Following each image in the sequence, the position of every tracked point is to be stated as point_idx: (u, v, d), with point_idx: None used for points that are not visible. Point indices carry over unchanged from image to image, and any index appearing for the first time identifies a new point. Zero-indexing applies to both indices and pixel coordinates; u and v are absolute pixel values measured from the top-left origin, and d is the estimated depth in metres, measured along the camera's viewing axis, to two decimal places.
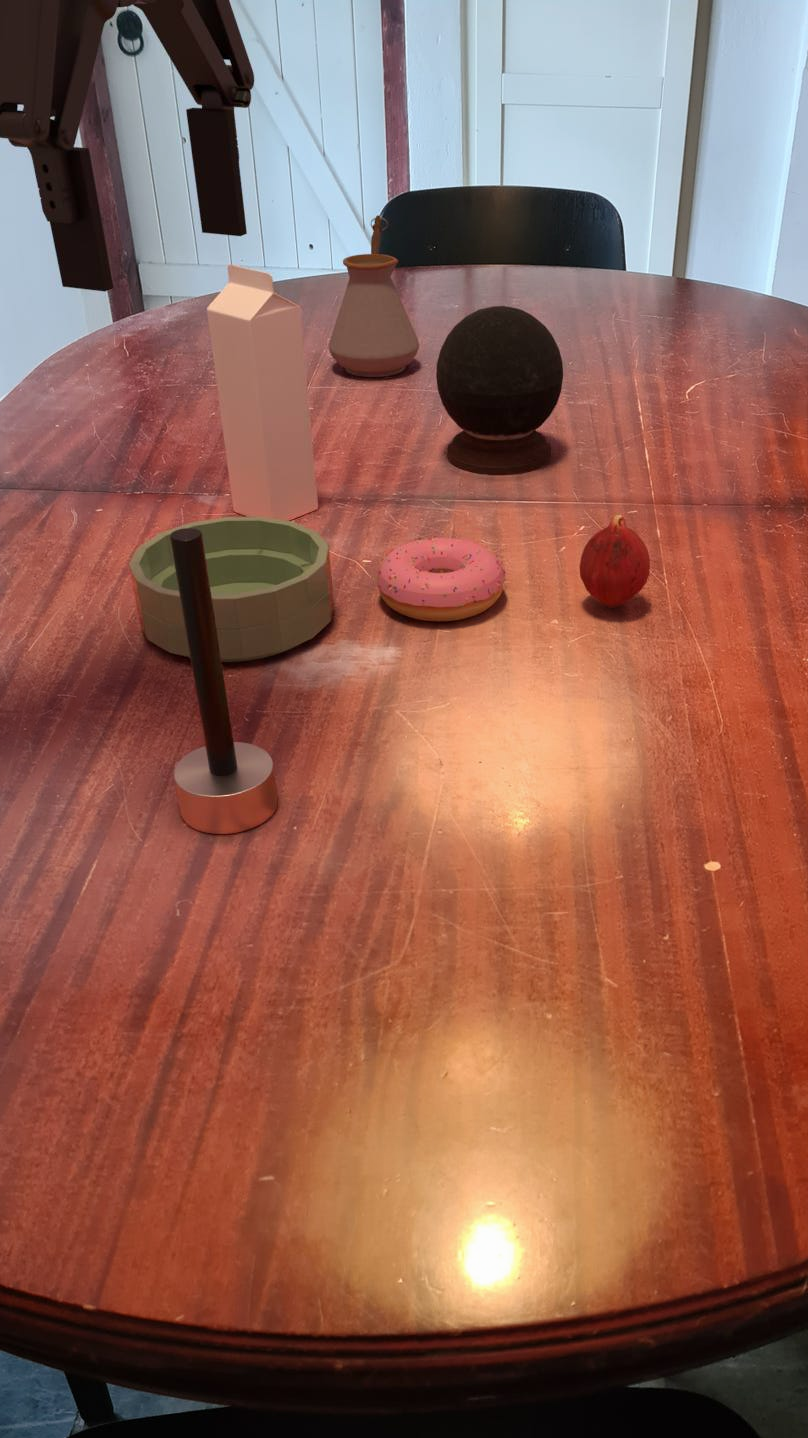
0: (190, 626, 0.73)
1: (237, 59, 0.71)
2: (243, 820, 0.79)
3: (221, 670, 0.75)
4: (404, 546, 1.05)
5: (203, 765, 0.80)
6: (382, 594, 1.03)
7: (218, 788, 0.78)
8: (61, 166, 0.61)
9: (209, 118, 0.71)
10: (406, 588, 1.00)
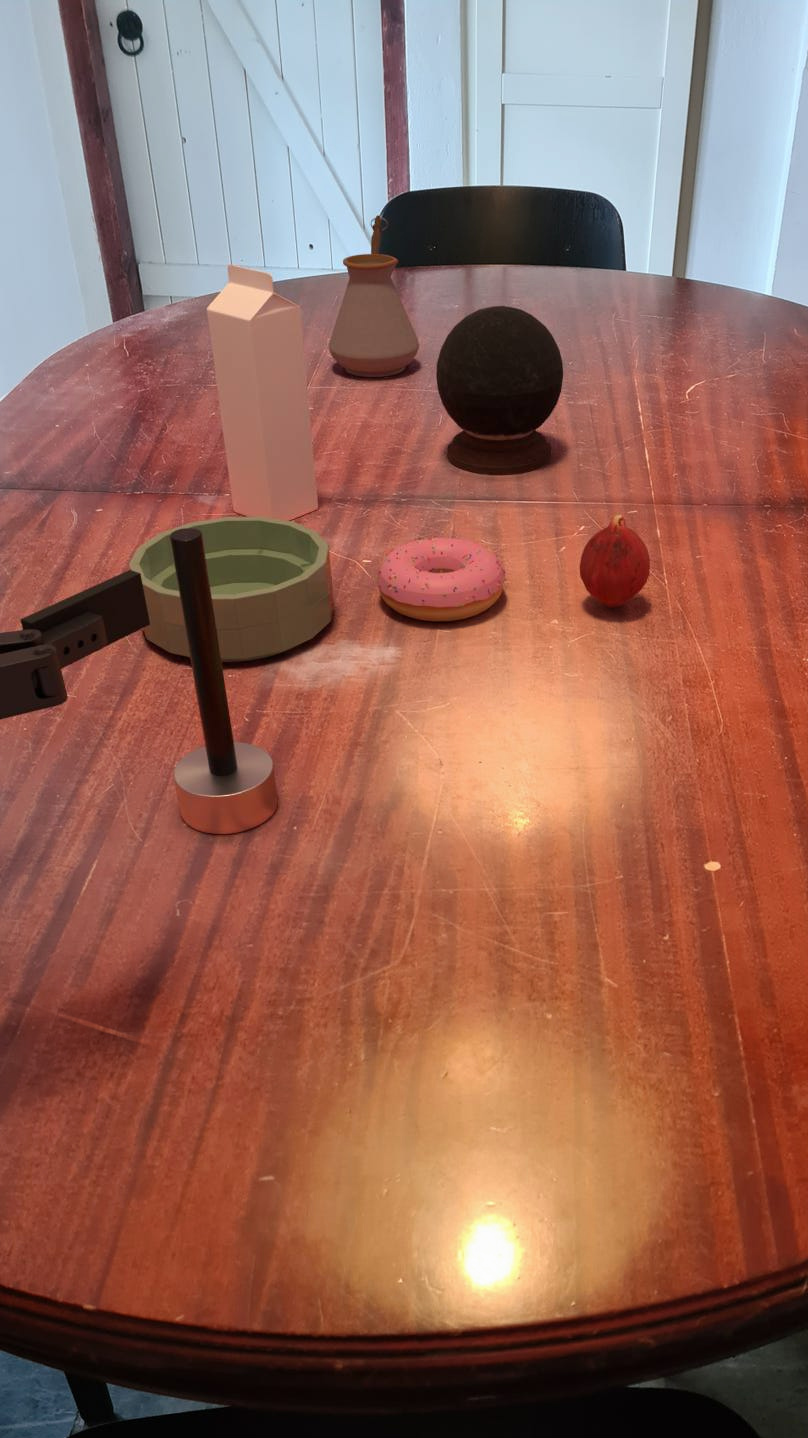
0: (190, 626, 0.73)
1: None
2: (243, 820, 0.79)
3: (221, 670, 0.75)
4: (404, 546, 1.05)
5: (203, 765, 0.80)
6: (382, 594, 1.03)
7: (218, 788, 0.78)
8: None
9: None
10: (406, 588, 1.00)
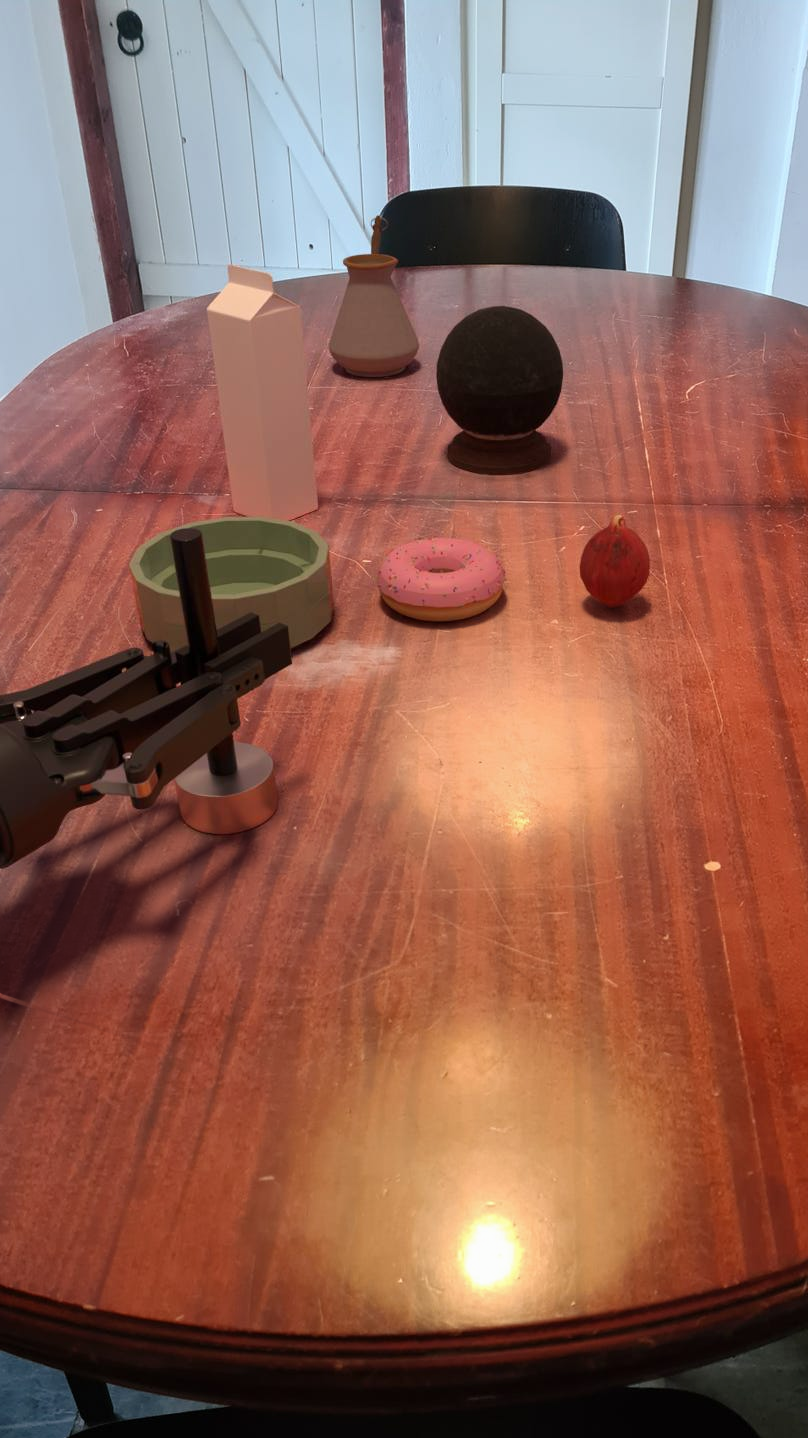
0: (190, 626, 0.73)
1: None
2: (243, 820, 0.79)
3: None
4: (404, 546, 1.05)
5: (203, 765, 0.80)
6: (382, 594, 1.03)
7: (218, 788, 0.78)
8: None
9: None
10: (406, 588, 1.00)
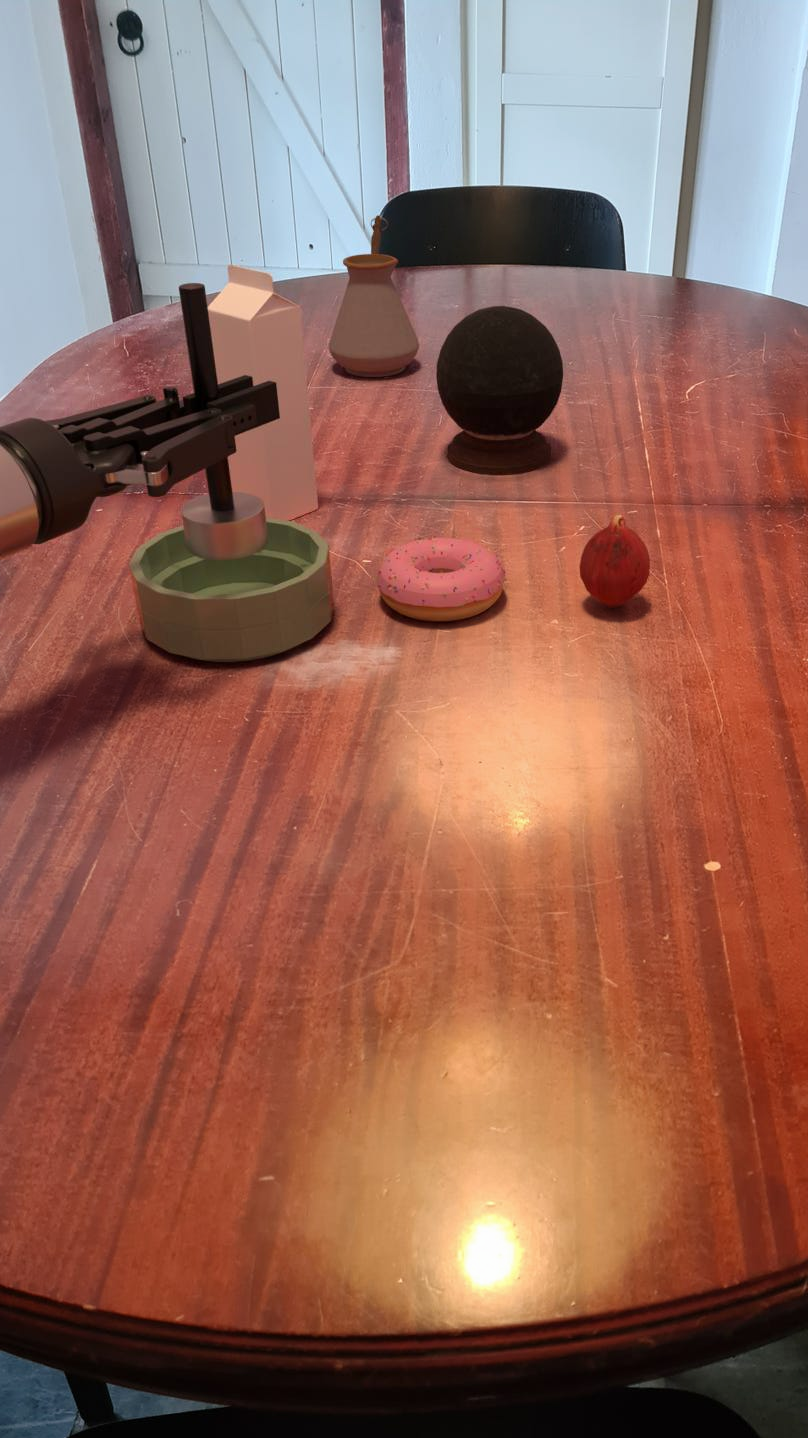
0: (195, 369, 0.89)
1: None
2: (239, 548, 0.95)
3: None
4: (404, 546, 1.05)
5: (206, 505, 0.96)
6: (382, 594, 1.03)
7: (218, 518, 0.94)
8: None
9: None
10: (406, 588, 1.00)
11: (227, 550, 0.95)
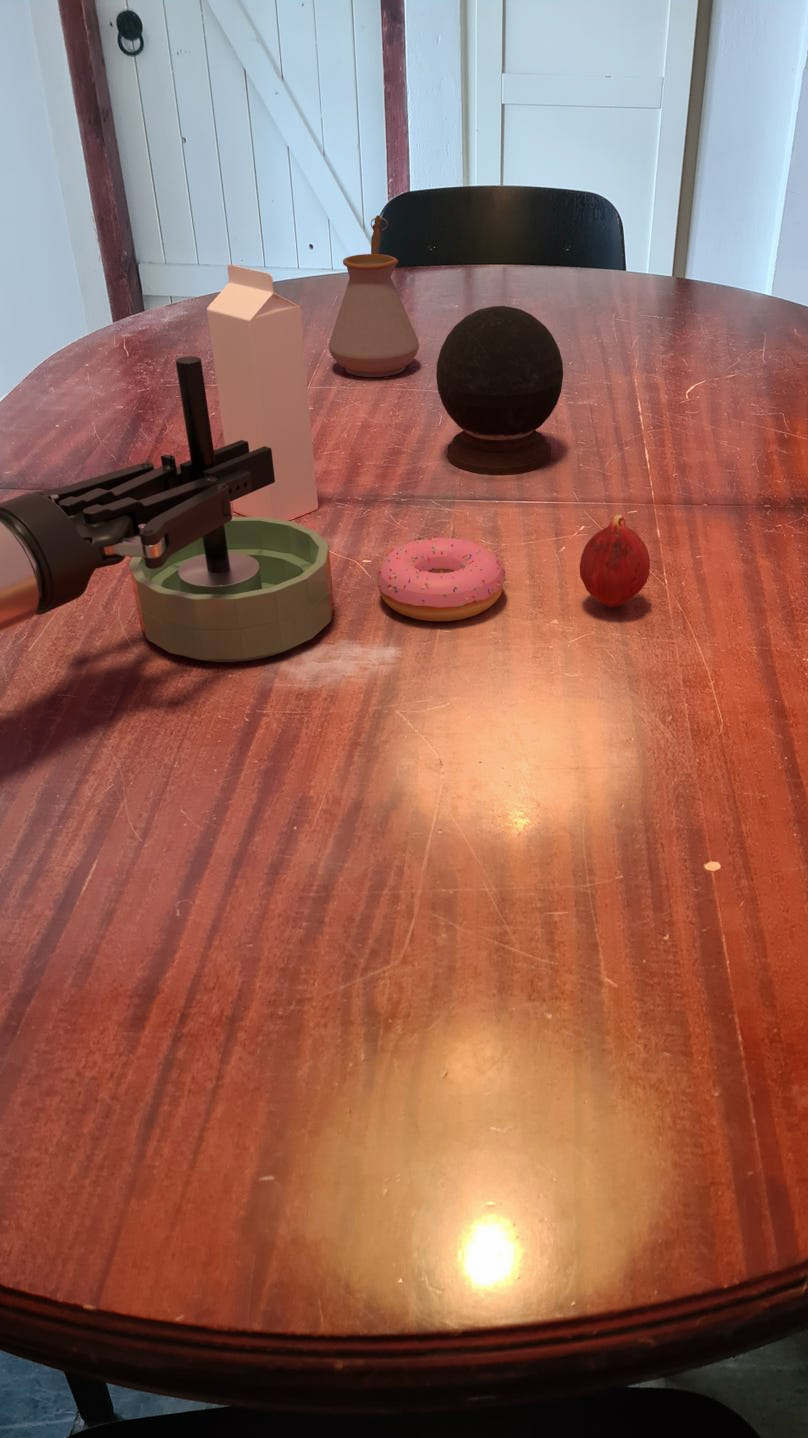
0: (192, 439, 0.91)
1: None
2: None
3: None
4: (404, 546, 1.05)
5: (202, 566, 0.98)
6: (382, 594, 1.03)
7: (214, 581, 0.96)
8: None
9: None
10: (406, 588, 1.00)
11: None
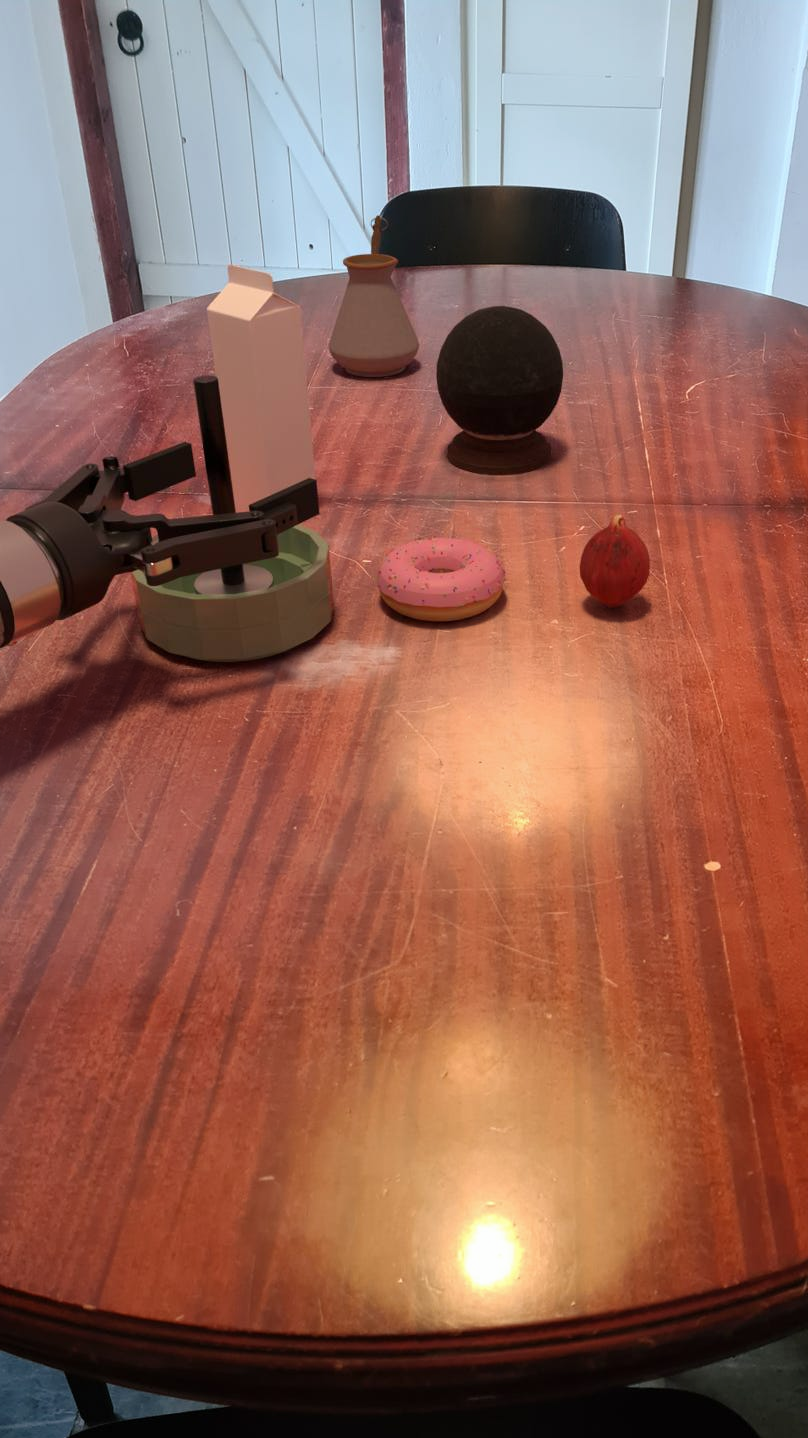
0: (208, 455, 0.93)
1: None
2: None
3: (232, 494, 0.96)
4: (404, 546, 1.05)
5: (217, 579, 1.00)
6: (382, 594, 1.03)
7: (230, 593, 0.98)
8: None
9: None
10: (406, 588, 1.00)
11: None
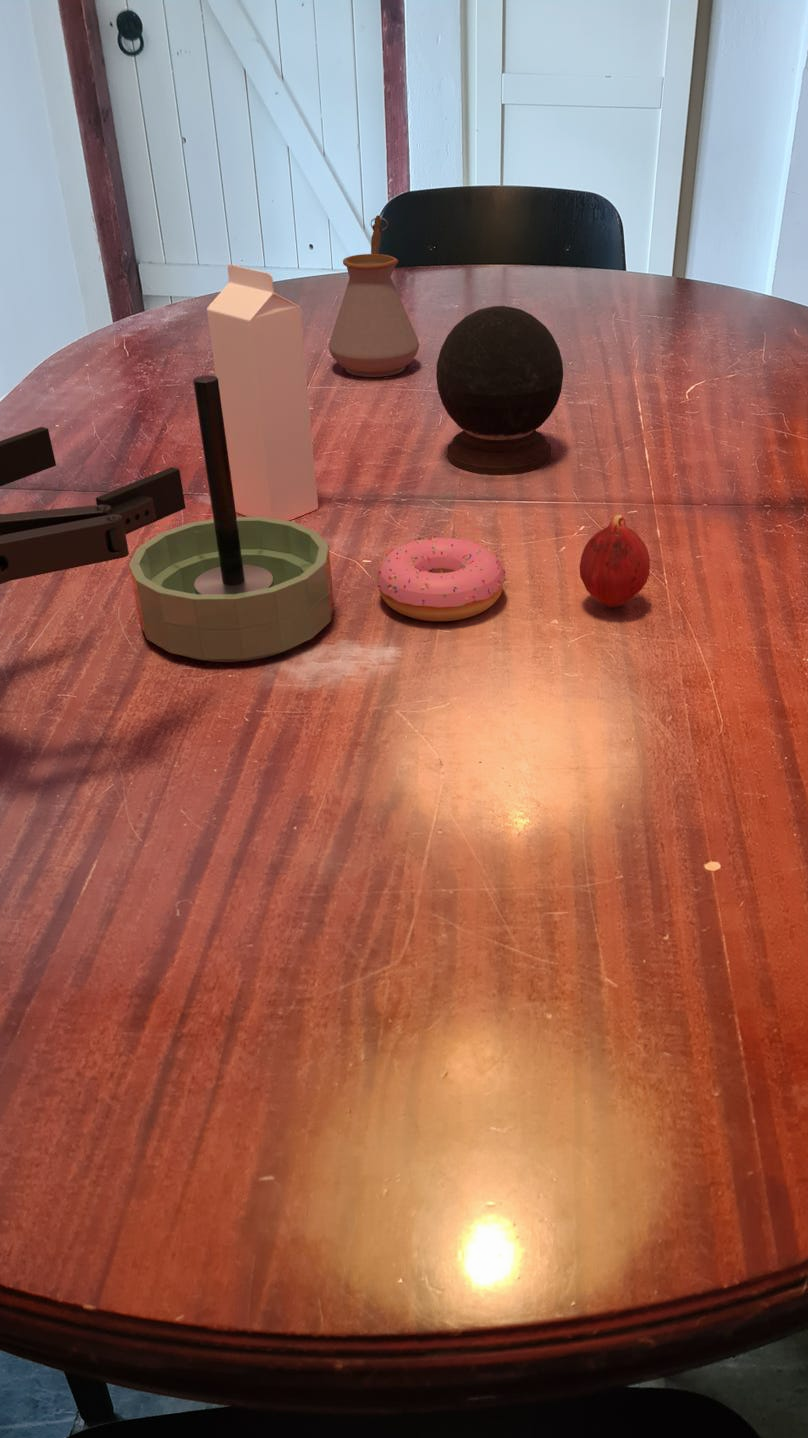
0: (208, 455, 0.93)
1: None
2: None
3: (232, 494, 0.96)
4: (404, 546, 1.05)
5: (217, 579, 1.00)
6: (382, 594, 1.03)
7: (230, 593, 0.98)
8: None
9: None
10: (406, 588, 1.00)
11: None
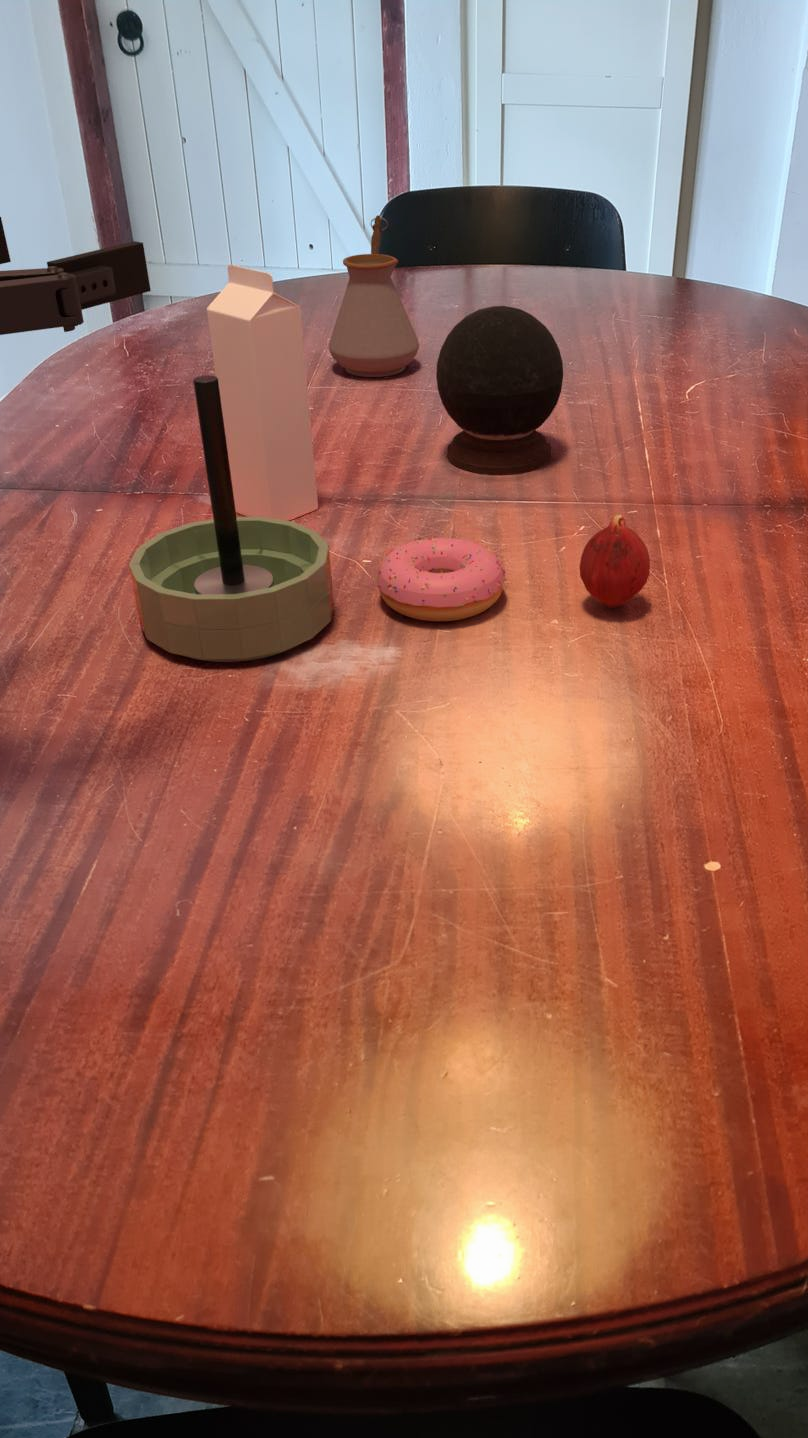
0: (208, 455, 0.93)
1: None
2: None
3: (232, 494, 0.96)
4: (404, 546, 1.05)
5: (217, 579, 1.00)
6: (382, 594, 1.03)
7: (230, 593, 0.98)
8: None
9: None
10: (406, 588, 1.00)
11: None
